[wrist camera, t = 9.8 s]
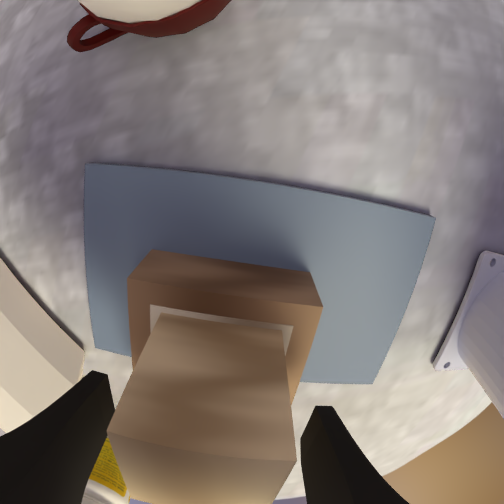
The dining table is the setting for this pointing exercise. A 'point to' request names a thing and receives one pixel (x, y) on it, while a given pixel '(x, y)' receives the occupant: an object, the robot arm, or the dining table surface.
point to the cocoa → (141, 19)
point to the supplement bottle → (106, 480)
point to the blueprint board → (258, 253)
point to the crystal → (31, 355)
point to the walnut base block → (225, 300)
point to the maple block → (205, 415)
